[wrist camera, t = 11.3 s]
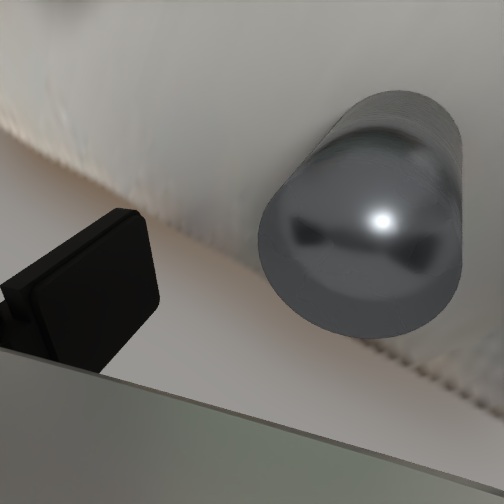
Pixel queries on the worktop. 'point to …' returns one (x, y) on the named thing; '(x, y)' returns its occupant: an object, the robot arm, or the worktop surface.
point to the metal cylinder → (371, 220)
